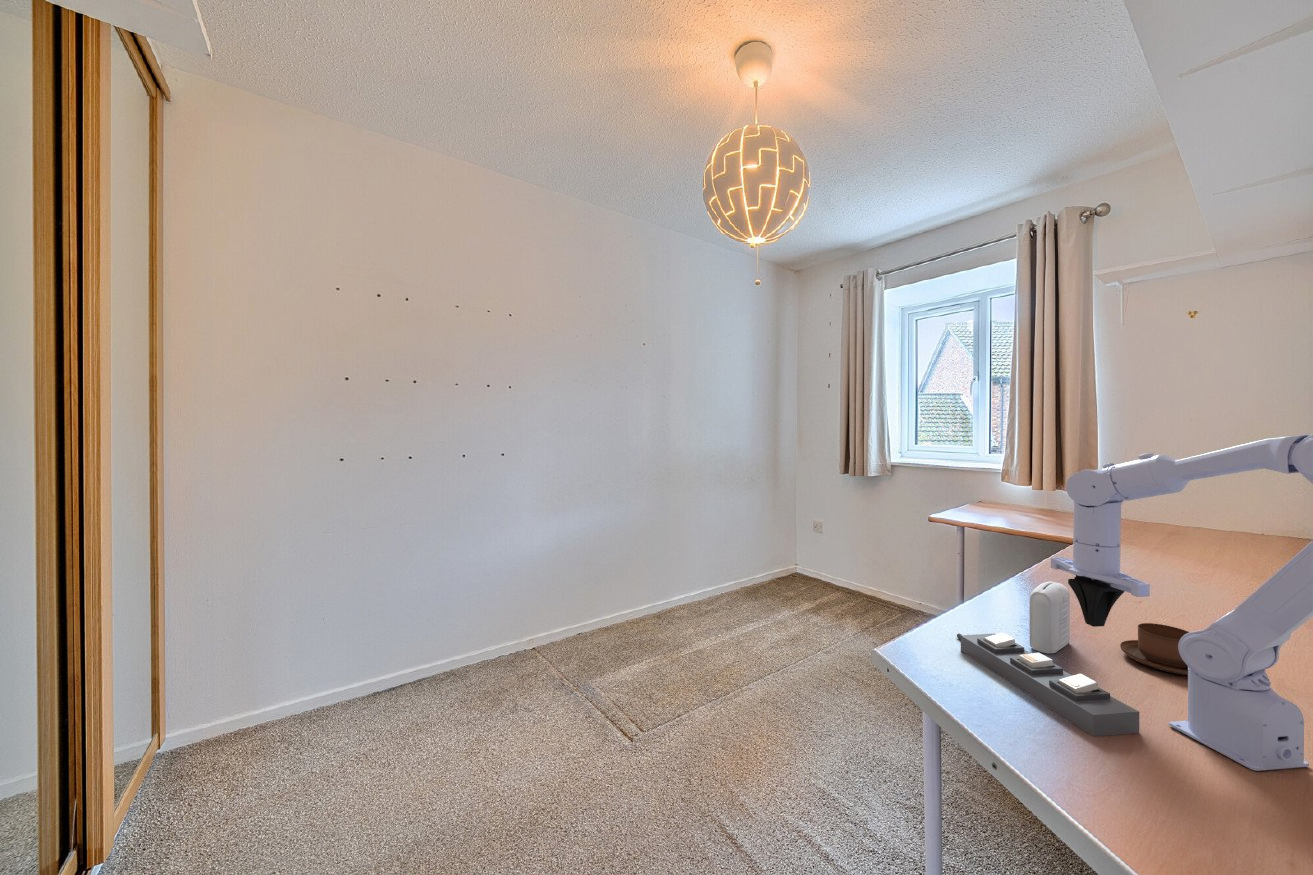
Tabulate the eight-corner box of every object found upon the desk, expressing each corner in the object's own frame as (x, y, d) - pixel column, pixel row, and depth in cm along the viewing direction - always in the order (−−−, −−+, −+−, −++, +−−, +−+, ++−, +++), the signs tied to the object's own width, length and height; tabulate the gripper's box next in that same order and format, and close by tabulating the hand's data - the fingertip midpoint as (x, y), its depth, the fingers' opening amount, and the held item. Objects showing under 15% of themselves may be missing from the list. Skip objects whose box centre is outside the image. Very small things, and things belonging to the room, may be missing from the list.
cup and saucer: (1182, 653, 91) (1182, 621, 90) (1239, 687, 79) (1239, 649, 79) (1105, 647, 94) (1105, 615, 94) (1149, 678, 82) (1149, 642, 82)
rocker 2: (1098, 688, 72) (1097, 681, 72) (1076, 695, 71) (1075, 688, 71) (1081, 679, 74) (1080, 673, 74) (1060, 685, 74) (1059, 679, 74)
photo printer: (1046, 635, 99) (1046, 575, 99) (1073, 642, 95) (1072, 580, 95) (1026, 648, 93) (1025, 585, 93) (1053, 657, 90) (1053, 591, 90)
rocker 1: (1015, 643, 87) (1014, 638, 86) (997, 649, 86) (995, 643, 86) (1003, 637, 89) (1002, 632, 89) (985, 642, 89) (984, 637, 89)
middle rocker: (1053, 665, 79) (1052, 659, 79) (1032, 668, 79) (1032, 662, 79) (1039, 658, 82) (1038, 651, 82) (1019, 660, 81) (1019, 654, 81)
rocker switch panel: (1139, 732, 68) (1139, 705, 68) (1093, 736, 67) (1093, 709, 67) (973, 636, 99) (973, 618, 99) (941, 638, 98) (941, 619, 98)
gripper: (1035, 533, 86) (1034, 608, 86) (1120, 555, 71) (1118, 646, 72) (1072, 532, 86) (1070, 606, 87) (1163, 554, 72) (1161, 643, 72)
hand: (1094, 624), depth 79 cm, fingers closed
